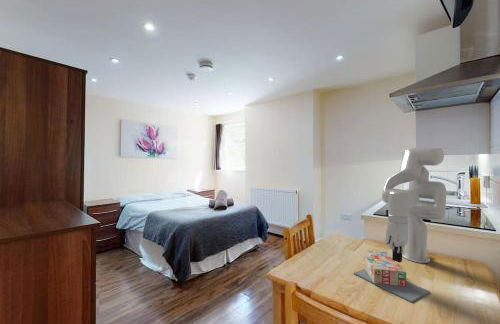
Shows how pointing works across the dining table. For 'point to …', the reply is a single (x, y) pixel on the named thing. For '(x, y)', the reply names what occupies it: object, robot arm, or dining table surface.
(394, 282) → the stack of blocks
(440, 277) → the dining table surface
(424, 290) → the mat
